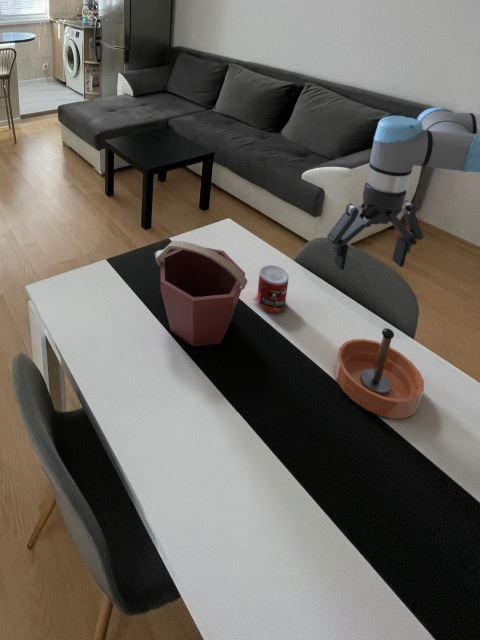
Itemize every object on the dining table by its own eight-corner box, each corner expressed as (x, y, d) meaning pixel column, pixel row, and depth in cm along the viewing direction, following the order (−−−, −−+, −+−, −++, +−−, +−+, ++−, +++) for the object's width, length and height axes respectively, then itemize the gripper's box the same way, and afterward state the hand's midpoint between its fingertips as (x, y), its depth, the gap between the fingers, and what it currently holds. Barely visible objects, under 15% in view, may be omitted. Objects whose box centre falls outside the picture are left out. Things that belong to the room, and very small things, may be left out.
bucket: (140, 319, 125) (138, 249, 115) (185, 281, 138) (187, 215, 129) (214, 372, 107) (219, 294, 98) (258, 322, 120) (265, 250, 111)
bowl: (403, 364, 105) (408, 346, 103) (430, 429, 91) (436, 410, 89) (328, 350, 111) (331, 333, 108) (342, 409, 96) (346, 391, 94)
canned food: (257, 311, 124) (260, 281, 120) (255, 292, 131) (258, 263, 127) (286, 315, 122) (290, 285, 118) (282, 296, 129) (286, 266, 125)
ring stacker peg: (385, 375, 102) (400, 322, 96) (394, 398, 97) (410, 343, 91) (357, 370, 104) (369, 317, 98) (363, 392, 99) (377, 337, 93)
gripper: (431, 174, 96) (410, 251, 104) (319, 180, 97) (307, 256, 105) (458, 191, 89) (434, 272, 97) (337, 197, 90) (322, 277, 98)
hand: (368, 264), depth 101 cm, fingers open, 13 cm apart
